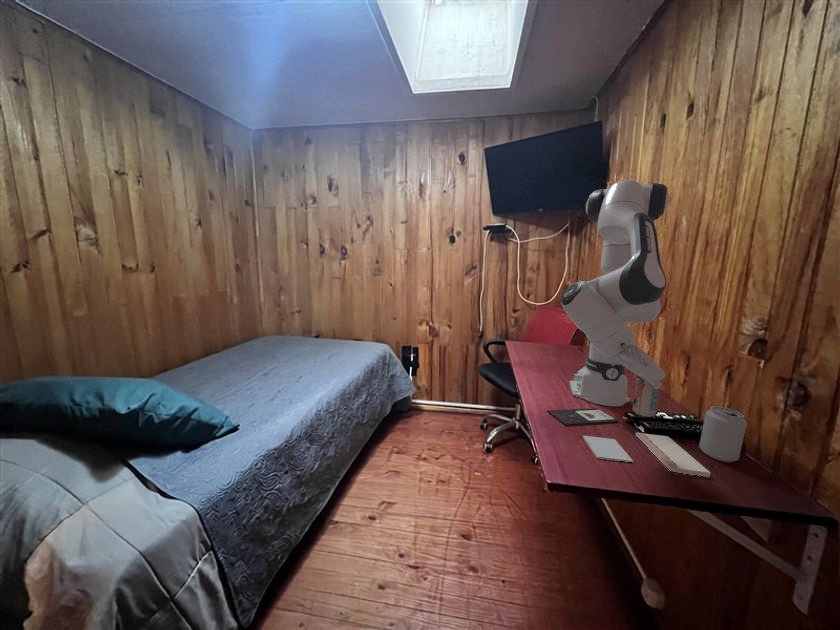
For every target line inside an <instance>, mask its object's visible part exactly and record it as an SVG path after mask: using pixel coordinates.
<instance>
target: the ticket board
mask: <svg viewBox="0 0 840 630" xmlns="http://www.w3.org/2000/svg"><path fill="white" fill-rule="evenodd" d="M636 436H637V437H638V438H639V439H640V440H641V441H642V442H643V443H644V444H645V445H646V446H647V447H648V449H649V450H650V451H651V452H652V453H653V454H654V455H655V456H656V457H657V458H658V459H659V460H660V461H661V462H662V463H663V464H664V465H665V466H666V467H667V468H668V469H669V470H670V471H673V472H678V473H683V474H682V475H686V474H689V475H688V476H694V475H697V476H696V477H701V476H703V477H702V478H710V477H711V471H709V470H708V469H707V468H706V467H704V466H703V465H702V464H701V463H700V462H699V461H698V460H696V459H695V458H694V457H693V456H692V455H690V453H688V452H687V451H686V450H685V449H683V448H682V447H681V446H680V445H679V444H677V442H675V441H674V440H673V439H672V438H670V437H669V436H667V435H660V434H659V435H658V434H652V433H651V434H650V433H643V432H638V431H637V432H635V437H636ZM648 449H647V450H648ZM649 450H648V451H649ZM650 451H649V452H650ZM651 452H650V453H651ZM652 453H651V454H652ZM653 454H652V455H653ZM654 455H653V456H654ZM655 456H654V457H655ZM656 457H655V458H656ZM657 458H656V459H657ZM658 459H657V460H658ZM659 460H658V461H659ZM660 461H659V462H660ZM661 462H660V463H661ZM662 463H661V464H662ZM663 464H662V465H663ZM664 465H663V466H664ZM665 466H664V467H665ZM666 467H665V468H666ZM667 468H666V469H667ZM668 469H667V470H668ZM669 470H668V471H669ZM670 471H669V472H670ZM678 473H677V474H678Z"/></svg>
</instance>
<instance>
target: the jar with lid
mask: <svg viewBox="0 0 840 630" xmlns="http://www.w3.org/2000/svg"><path fill="white" fill-rule="evenodd" d="M635 378H636V380H635V388H634V389H635V390H634V396H633V405H632V411H634V412H635V413H636V414H637V415H639V416H643V417H654V416H657V415H656V414H657V413H656V411H657V403H658V397H659V389H660V388H658V389H654V388H653V387H652V386H651V385H650V384H649V383H648V382H647V381H645V380H644V379H642V378H641V377H639V376H638V375H637V376H636V377H635ZM659 382H660V383H661V381H659Z"/></svg>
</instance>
